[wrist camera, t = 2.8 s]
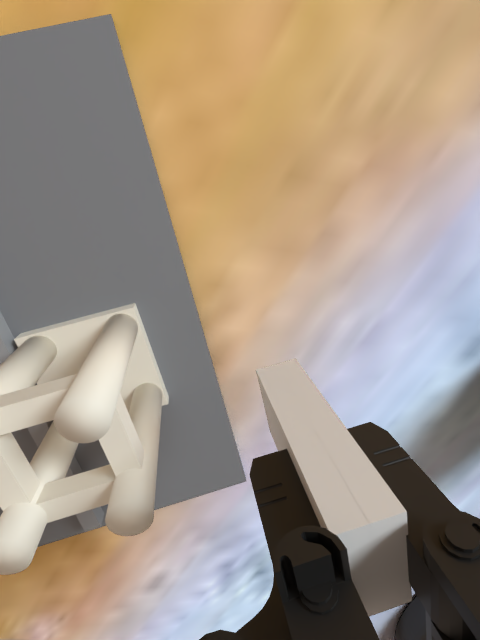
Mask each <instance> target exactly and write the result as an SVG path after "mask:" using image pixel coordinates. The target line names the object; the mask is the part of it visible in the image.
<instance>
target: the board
mask: <svg viewBox="0 0 480 640" xmlns="http://www.w3.org/2000/svg"><path fill="white" fill-rule="evenodd" d="M133 303H135V304H136V306H137V309H138V312H139V315H140V318H141V320H142V323H143V326H144V329H145V332H146V334H147V337H148V340H149V343H150V346H151V348H152V351H153V354H154V357H155V360H156V362H157V365H158V368H159V371H160V374H161V376H162V379H163V382H164V385H165V388H166V390H167V393H168V396H169V402H168V404H167V405H163V406H162V410H161V423H160V436H159V450H158V463H157V477H156V490H155V504H154V510H156V509H159V508H163V507H166V506H169V505H172V504H175V503H178V502H182V501H185V500H188V499H191V498H194V497H198V496H201V495H204V494H207V493H210V492H213V491H217V490H220V489H223V488H226V487H229V486H232V485H236V484H239V483H242V482H245V481H246V477H245V474H244V470H243V467H242V463H241V460H240V457H239V453H238V450H237V446H236V443H235V439H234V436H233V432H232V429H231V426H230V422H229V419H228V415H227V412H226V408H225V405H224V401H223V398H222V395H221V391H220V388H219V384H218V381H217V377H216V374H215V370H214V367H213V364H212V360H211V357H210V353H209V350H208V346H207V343H206V339H205V336H204V333H203V329H202V326H201V322H200V319H199V315H198V312H197V308H196V305H195V302H194V298H193V295H192V291H191V288H190V284H189V281H188V277H187V274H186V271H185V267H184V264H183V260H182V257H181V253H180V250H179V246H178V243H177V240H176V236H175V233H174V229H173V226H172V222H171V219H170V215H169V212H168V209H167V205H166V202H165V198H164V195H163V191H162V188H161V184H160V181H159V178H158V174H157V171H156V167H155V164H154V160H153V157H152V153H151V150H150V147H149V143H148V140H147V136H146V133H145V129H144V126H143V122H142V119H141V115H140V112H139V109H138V105H137V102H136V98H135V95H134V91H133V88H132V84H131V81H130V78H129V74H128V71H127V67H126V64H125V60H124V57H123V53H122V50H121V47H120V43H119V40H118V36H117V33H116V29H115V26H114V22H113V19H112V16H111V14H109V15H104V16H99V17H94V18H89V19H84V20H79V21H74V22H69V23H64V24H59V25H53V26H48V27H43V28H38V29H33V30H28V31H23V32H18V33H13V34H8V35H3V36H0V364H1V363H3V362H4V361H5V360H6V359H7V358H8V357H9V356H10V355H11V354H12V353H13V352H14V351H15V350H16V349H17V348H18V346H17V344H16V342H15V341H14V339H15V338H16V337H17V336H18V335H19V334H21V333H24V332H28V331H31V330H35V329H39V328H43V327H46V326H50V325H54V324H58V323H61V322H65V321H69V320H73V319H77V318H80V317H84V316H88V315H92V314H95V313H99V312H103V311H107V310H110V309H114V308H118V307H122V306H125V305H129V304H133ZM35 385H37V383H36V384H35ZM35 385H34V386H35ZM52 422H53V420H52V421H48V422H45V423H42V424H38V425H35V426H31V427H28V428H24V429H21V430H17V431H14V432H11V433H12V434H13V436H14V438H15V440H16V441H17V443H18V445H19V446H20V448H21V450H22V452H23V453H24V455H25V457H26V458H27V460H28V462H29V464H30V462H31V460H32V458H33V457H34V455H35V453H36V451H37V449H38V447H39V446H40V444H41V442H42V440H43V438H44V437H45V435H46V433H47V431H48V429H49V428H50V426H51V424H52ZM109 464H110V463H109V461H108V459H107V457H106V455H105V453H104V450H103V448H102V446H101V444H100V442H99V440H97V441H94V442H91V443H79V444H78V446H77V449H76V451H75V454H74V456H73V459H72V461H71V464H70V466H69V469H68V471H67V474H66V476H65V478H66V477H69V476H73V475H76V474H79V473H83V472H86V471H89V470H93V469H96V468H99V467H103V466H106V465H109ZM107 508H108V504H107V505H104V506H101V507H97V508H94V509H91V510H88V511H84V512H81V513H78V514H75V515H72V516H68V517H65V518H62V519H59V520H55V521H52V522H49V523H47V524H46V526H45V529H44V532H43V534H42V537H41V539H40V542H39V544H38V547H39V546H42V545H45V544H48V543H52V542H55V541H58V540H61V539H64V538H67V537H71V536H74V535H77V534H80V533H83V532H87V531H90V530H93V529H97V528H100V527H102V526H105V525H106V523H105V517H106V513H107ZM2 513H3V510H2V509H1V507H0V516H1V514H2Z"/></svg>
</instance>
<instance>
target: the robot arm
mask: <svg viewBox="0 0 480 640" xmlns="http://www.w3.org/2000/svg"><path fill="white" fill-rule="evenodd" d="M256 372H257V377H258V381H259V385H260V390H261V394H262V398H263V402H264V407H265V411H266V415H267V420H268V424H269V428H270V432H271V434H272V437H273V439H274V442H275V444H276V447H277V449H278V452H274V453H271V454H268V455H264V456H261V457H258V458H255V459H253V462H252V466H251V471H250V478H251V482H252V486H253V490H254V494H255V498H256V502H257V505H258V509H259V513H260V517H261V521H262V525H263V529H264V532H265V536H266V540H267V544H268V548H269V552H270V556H271V559H272V563H273V570H274V582H273V588H272V591H271V594H270V597H269V599H268V600H267V602H266V604H265V606H264V607H263V609H262V610H261V611H260V612H259V613H258V614H257V615H256V616H255V617H254V618H253V619H251V620H250V621H249V622H248V623H247V624H245V625H244V626H243V627H242V628H241V629H239V630H238V631H237V632H236V633H234V632H229V631H224V630H218V631H215V632H212V633H208V634H206V635H204V636H203V637H202V638H201V639H199V640H379V638H378V636H377V633H376V631H375V629H374V627H373V625H372V623H371V620H370V618H369V616H372V615H375V614H377V613H380V612H383V611H386V610H389V609H392V608H394V607H397V606H400V605H403V604H406V603H409V602H411V601H412V592H411V586H412V588H413V590H414V591H415V593H416V595H417V597H416V598H415V599H414V600H413V601H412V602H411V603H410V604H409V606H408V607H407V608H406V610H405V611H404V613H403V614H402V616H401V618H400V620H399V622H398V625H397V628H396V632H395V640H480V519H479V518H477V517H474V516H472V515H470V514H468V513H466V512H461V511H459V510H458V509H457V508H456V507H455V506H454V505H453V504H452V503H451V502H450V501H449V500H448V499H447V498H446V496H445V495H444V494H443V493H442V492H441V491H440V490H439V489H438V487H437V486H436V485H435V484H434V483H433V482H432V481H431V480H430V479H429V477H428V476H427V475H426V474H425V473H424V472H423V471H422V470H421V468H420V467H419V466H418V465H417V464H416V463H415V462H414V461H413V459H410V457H409V455H408V454H407V453H406V452H405V451H404V449H403V448H402V447H400V446H399V444H398V443H397V442H396V440H395V439H394V438H393V437H392V436H391V435H390V434H389V433H388V431H386V430H384V429H382V428H381V427H379V426H377V425H375V424H373V423H371V422H369V423H365V424H362V425H359V426H356V427H352V428H349V429H346V427H345V426H344V424H343V423H342V422H341V420H340V419H339V418H338V416H337V415H336V413H335V412H334V411H333V409H332V408H331V407H330V405H329V404H328V402H327V401H326V400H325V398H324V397H323V396H322V394H321V393H320V391H319V390H318V389H317V387H316V386H315V385H314V383H313V382H312V380H311V379H310V378H309V376H308V375H307V374H306V372H305V371H304V369H303V368H302V367H301V365H300V364H299V363H298V361H297V360H296V359H292V360H289V361H285V362H282V363H278V364H275V365H271V366H268V367H264V368H261V369H257V370H256Z"/></svg>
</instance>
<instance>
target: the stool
mask: <svg viewBox="0 0 480 640" xmlns="http://www.w3.org/2000/svg"><path fill="white" fill-rule="evenodd" d="M14 341H15V342H16V344H17V346H18V348H17V349H16V350H15V351H14V352H13V353H12V354H11V355H10V356H9V357H8V358H7V359H6V360H5V361H4V362H3V363H1V364H0V507H1V509H2V510H3V513H2V514H1V516H0V574H1V575H10V574H15V573H18V572H21V571H23V570H24V569H26V568H27V567H28V566H29V565H30V563H31V561H32V559H33V557H34V554H35V552H36V549H37V547H38V544H39V542H40V539H41V537H42V534H43V532H44V529H45V526H46V524H47V523H49V522H52V521H55V520H59V519H62V518H65V517H68V516H72V515H75V514H78V513H81V512H84V511H88V510H91V509H94V508H97V507H101V506H104V505H107V504H108V508H107V513H106V517H105V523H106V526H107V527H108V529H109V530H110V531H112V532H113V533H115V534H117V535H121V536H134V535H137V534H140V533H142V532H144V531H145V530H147V529H148V528H149V527H150V525H151V524H152V522H153V517H154V504H155V490H156V477H157V463H158V450H159V436H160V423H161V410H162V406H163V405H167V404H168V402H169V396H168V393H167V390H166V388H165V385H164V382H163V379H162V376H161V374H160V371H159V368H158V365H157V362H156V360H155V357H154V354H153V351H152V348H151V346H150V343H149V340H148V337H147V334H146V332H145V329H144V326H143V323H142V320H141V318H140V315H139V312H138V309H137V306H136V304H135V303H133V304H129V305H125V306H122V307H118V308H114V309H110V310H107V311H103V312H99V313H95V314H92V315H88V316H84V317H80V318H77V319H73V320H69V321H65V322H61V323H58V324H54V325H50V326H46V327H43V328H39V329H35V330H31V331H28V332H24V333H21V334H19V335H18V336H17V337H16V338H15V339H14ZM36 383H37V385H35V384H36ZM34 385H35V386H34ZM52 420H53V422H52V424H51V426H50V428H49V429H48V431H47V433H46V435H45V437H44V438H43V440H42V442H41V444H40V446H39V447H38V449H37V451H36V453H35V455H34V457H33V458H32V460H31V462H30V464H29V462H28V460H27V458H26V457H25V455H24V453H23V452H22V450H21V448H20V446H19V445H18V443H17V441H16V440H15V438H14V436H13V434H12V433H11V432H14V431H17V430H21V429H24V428H28V427H31V426H35V425H38V424H42V423H45V422H48V421H52ZM97 440H99V442H100V444H101V446H102V448H103V450H104V453H105V455H106V457H107V459H108V461H109V463H110V464H109V465H106V466H103V467H99V468H96V469H93V470H89V471H86V472H83V473H79V474H76V475H73V476H69V477H66V478H65V476H66V474H67V471H68V469H69V466H70V464H71V461H72V459H73V456H74V454H75V451H76V449H77V446H78V444H79V443H91V442H94V441H97Z"/></svg>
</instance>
